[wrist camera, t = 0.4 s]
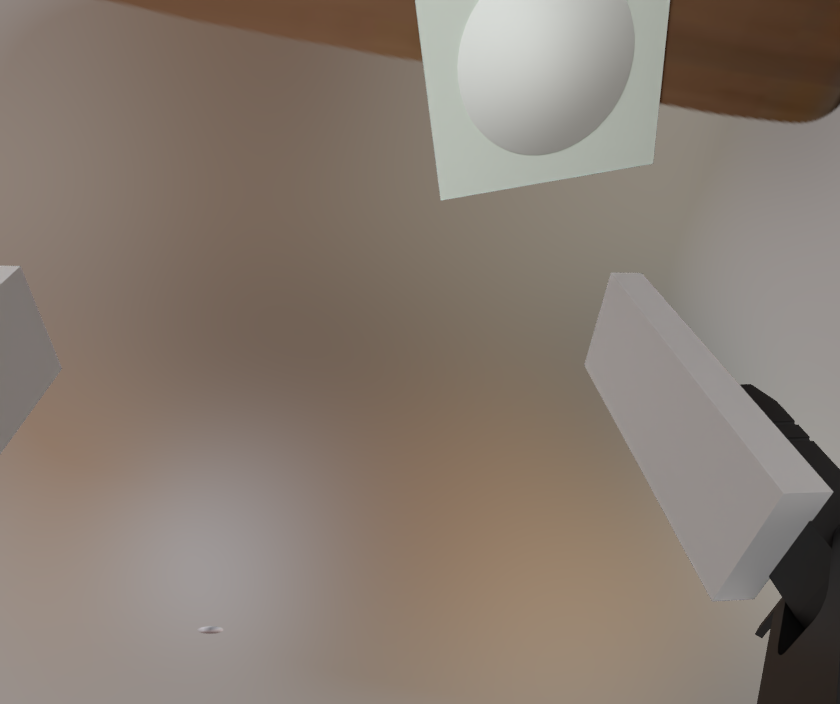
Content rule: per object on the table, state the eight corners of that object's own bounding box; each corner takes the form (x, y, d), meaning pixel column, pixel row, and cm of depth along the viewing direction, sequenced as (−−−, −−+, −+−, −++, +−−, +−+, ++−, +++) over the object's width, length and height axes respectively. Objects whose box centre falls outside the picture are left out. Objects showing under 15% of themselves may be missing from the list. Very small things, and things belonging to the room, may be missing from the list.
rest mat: (406, -65, 30) (407, -65, 30) (678, -114, 30) (682, -115, 30) (440, 198, 39) (441, 201, 39) (650, 162, 39) (653, 164, 38)
